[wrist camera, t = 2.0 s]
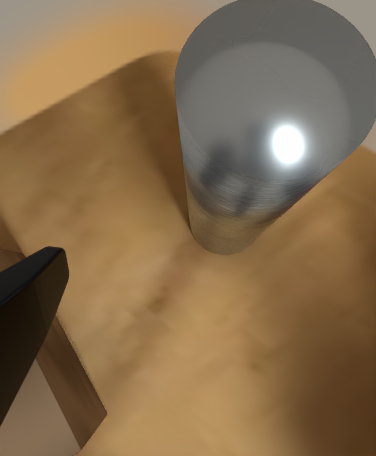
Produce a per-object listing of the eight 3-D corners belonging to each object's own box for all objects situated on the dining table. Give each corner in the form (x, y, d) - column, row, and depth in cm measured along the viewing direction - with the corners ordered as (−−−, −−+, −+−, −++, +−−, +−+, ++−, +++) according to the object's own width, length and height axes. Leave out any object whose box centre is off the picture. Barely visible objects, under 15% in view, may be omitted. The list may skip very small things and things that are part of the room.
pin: (263, 250, 19) (403, 164, 6) (194, 258, 19) (188, 191, 6) (252, 183, 20) (356, -18, 7) (185, 191, 20) (164, 6, 7)
